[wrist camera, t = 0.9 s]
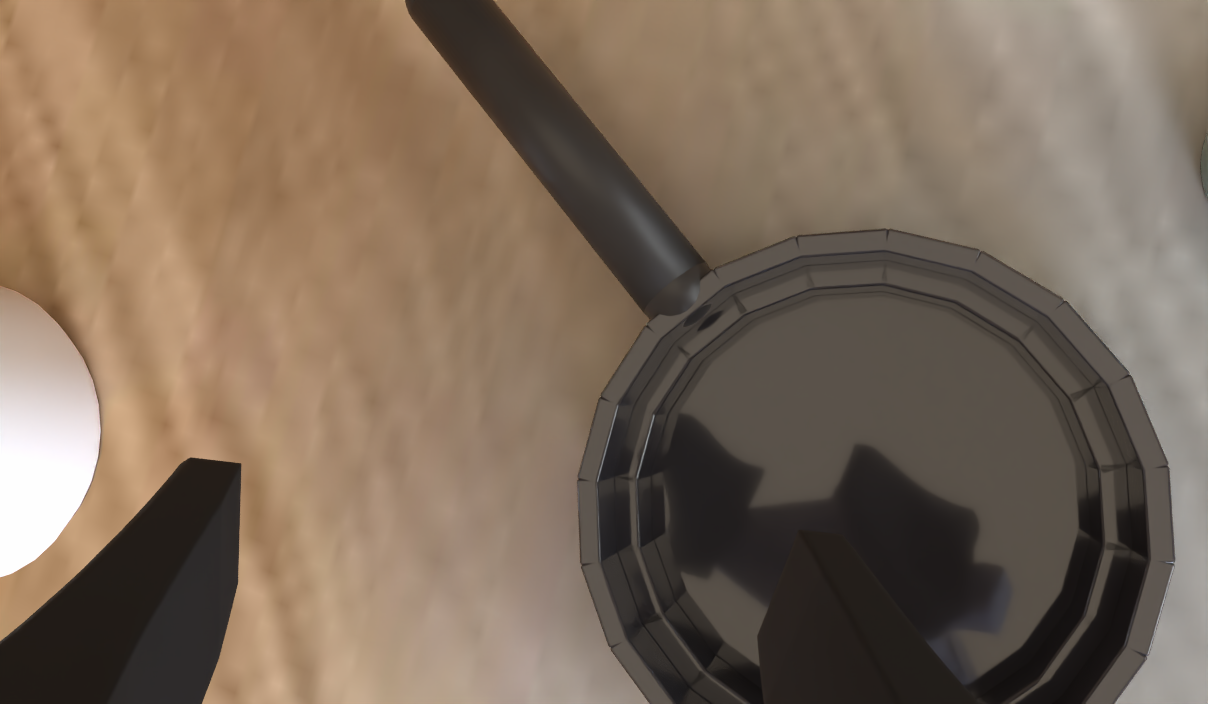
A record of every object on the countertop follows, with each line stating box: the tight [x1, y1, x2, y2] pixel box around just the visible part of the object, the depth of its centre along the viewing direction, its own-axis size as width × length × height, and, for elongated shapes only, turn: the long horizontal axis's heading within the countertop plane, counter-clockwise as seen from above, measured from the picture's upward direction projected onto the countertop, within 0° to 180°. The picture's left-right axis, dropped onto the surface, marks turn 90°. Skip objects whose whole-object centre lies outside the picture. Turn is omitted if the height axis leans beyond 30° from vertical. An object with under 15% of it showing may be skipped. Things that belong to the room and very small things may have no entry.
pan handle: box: [405, 0, 711, 327], centre depth 26 cm, size 11×2×2 cm, turn 39°
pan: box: [577, 229, 1175, 704], centre depth 25 cm, size 12×12×4 cm
